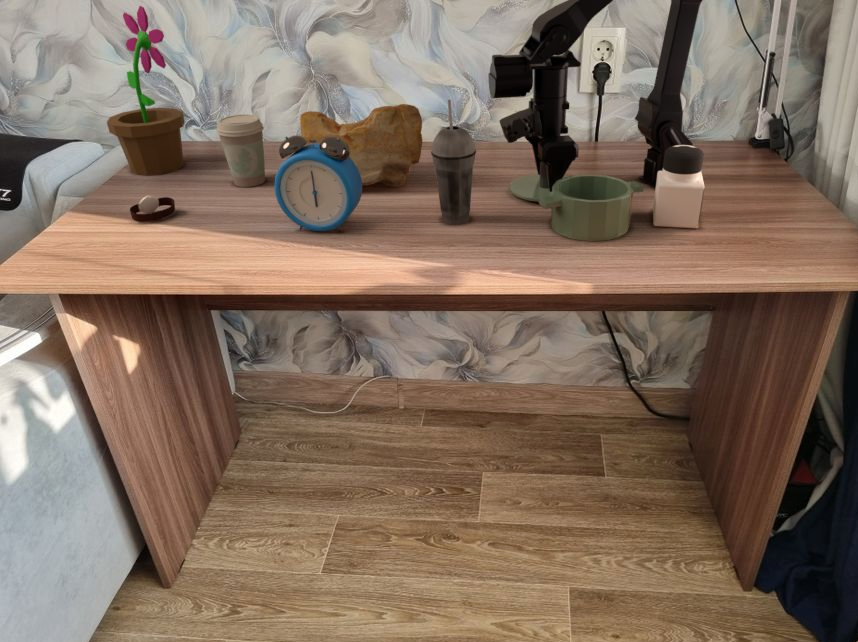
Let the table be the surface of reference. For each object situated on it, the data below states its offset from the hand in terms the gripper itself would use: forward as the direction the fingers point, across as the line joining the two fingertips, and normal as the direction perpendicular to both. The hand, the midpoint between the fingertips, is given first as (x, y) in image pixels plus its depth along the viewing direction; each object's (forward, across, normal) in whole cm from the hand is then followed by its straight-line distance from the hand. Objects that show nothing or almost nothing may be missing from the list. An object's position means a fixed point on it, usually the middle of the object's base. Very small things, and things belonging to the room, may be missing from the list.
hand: (546, 182), depth 133 cm
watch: (+2, -1, -70) cm, 70 cm away
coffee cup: (+2, -16, -55) cm, 57 cm away
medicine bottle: (+2, +17, +18) cm, 25 cm away
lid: (+1, 0, 0) cm, 1 cm away
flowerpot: (+2, -30, -75) cm, 81 cm away
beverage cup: (+2, +10, -18) cm, 21 cm away
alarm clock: (+2, +9, -40) cm, 41 cm away
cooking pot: (+2, +17, +4) cm, 17 cm away
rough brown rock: (+2, -13, -32) cm, 34 cm away
